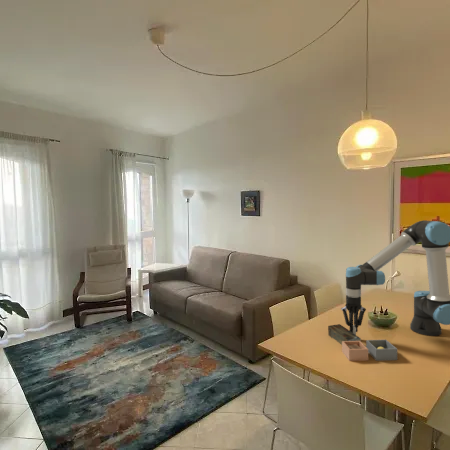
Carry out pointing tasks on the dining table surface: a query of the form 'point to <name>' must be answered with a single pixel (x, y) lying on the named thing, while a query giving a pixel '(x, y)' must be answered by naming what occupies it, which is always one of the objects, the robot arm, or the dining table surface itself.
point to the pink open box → (355, 351)
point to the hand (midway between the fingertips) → (353, 337)
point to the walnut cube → (354, 346)
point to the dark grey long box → (341, 334)
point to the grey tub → (381, 350)
